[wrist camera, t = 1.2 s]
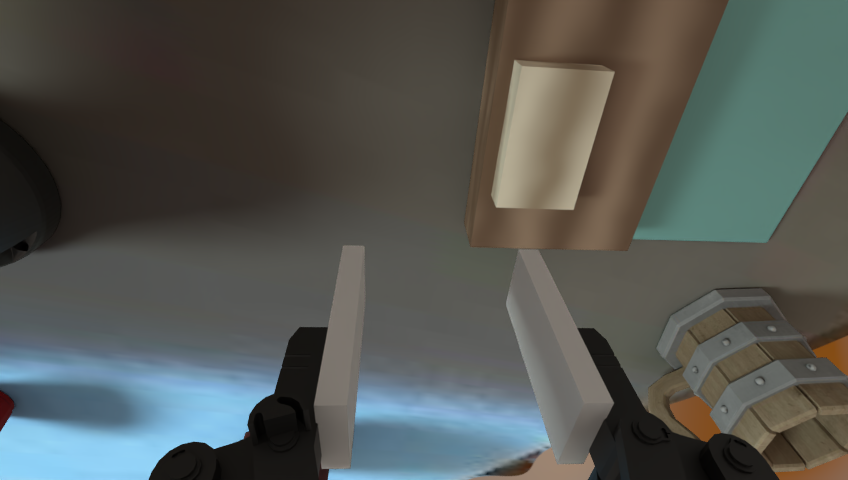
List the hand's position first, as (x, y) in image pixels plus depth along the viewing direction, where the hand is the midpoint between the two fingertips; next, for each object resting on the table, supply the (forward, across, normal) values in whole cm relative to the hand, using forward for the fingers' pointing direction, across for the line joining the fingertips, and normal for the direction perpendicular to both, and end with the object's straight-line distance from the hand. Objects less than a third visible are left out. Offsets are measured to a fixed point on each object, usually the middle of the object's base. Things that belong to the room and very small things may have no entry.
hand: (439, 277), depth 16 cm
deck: (+21, +12, 0) cm, 24 cm away
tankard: (+21, +34, -26) cm, 48 cm away
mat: (+21, +28, 0) cm, 35 cm away
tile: (+17, +9, 0) cm, 19 cm away
